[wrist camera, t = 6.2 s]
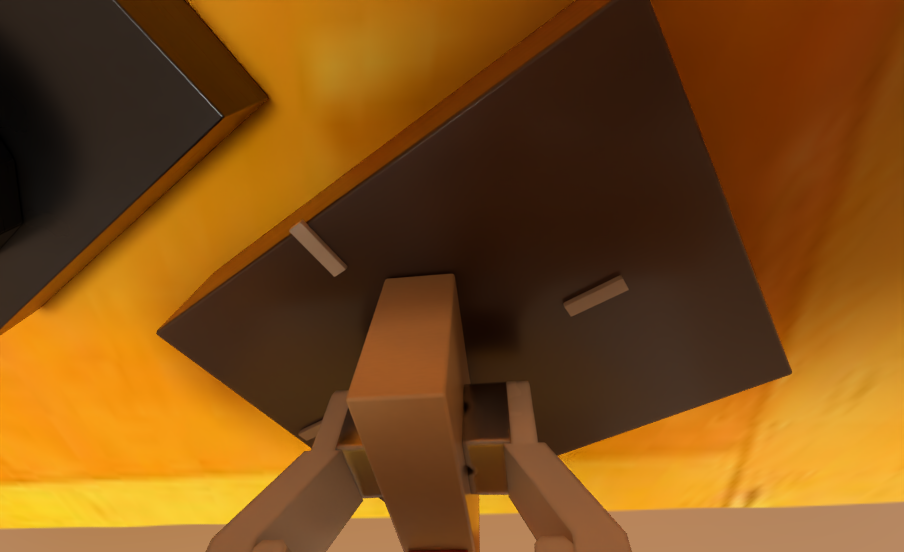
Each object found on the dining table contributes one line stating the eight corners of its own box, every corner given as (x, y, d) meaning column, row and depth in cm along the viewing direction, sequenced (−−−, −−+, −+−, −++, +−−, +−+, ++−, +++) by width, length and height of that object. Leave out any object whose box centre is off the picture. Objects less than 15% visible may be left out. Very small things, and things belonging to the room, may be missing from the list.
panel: (593, -20, 9) (644, -31, 6) (733, 305, 13) (799, 381, 10) (211, 269, 13) (145, 335, 11) (409, 441, 18) (398, 518, 15)
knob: (384, 277, 9) (339, 413, 6) (454, 271, 9) (444, 407, 6) (426, 442, 13) (409, 586, 9) (478, 440, 12) (479, 587, 9)
